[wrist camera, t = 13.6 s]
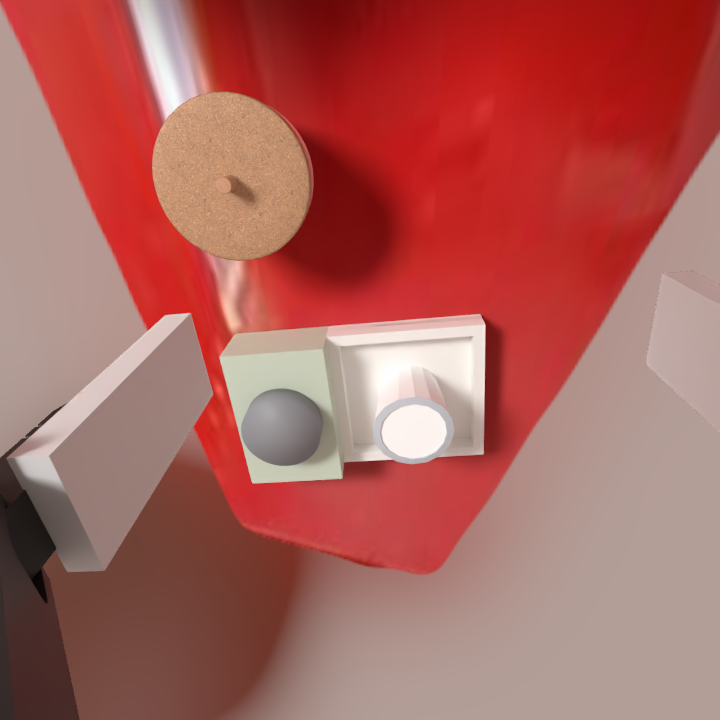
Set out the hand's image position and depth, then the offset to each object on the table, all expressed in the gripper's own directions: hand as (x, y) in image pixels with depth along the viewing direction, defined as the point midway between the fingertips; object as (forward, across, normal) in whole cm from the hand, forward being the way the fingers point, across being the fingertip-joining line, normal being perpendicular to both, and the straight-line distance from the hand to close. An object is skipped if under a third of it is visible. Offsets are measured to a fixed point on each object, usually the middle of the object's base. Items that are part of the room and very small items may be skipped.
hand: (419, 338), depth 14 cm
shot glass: (+28, 0, -18) cm, 33 cm away
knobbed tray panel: (+29, -4, -18) cm, 34 cm away
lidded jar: (+29, -11, +3) cm, 31 cm away
